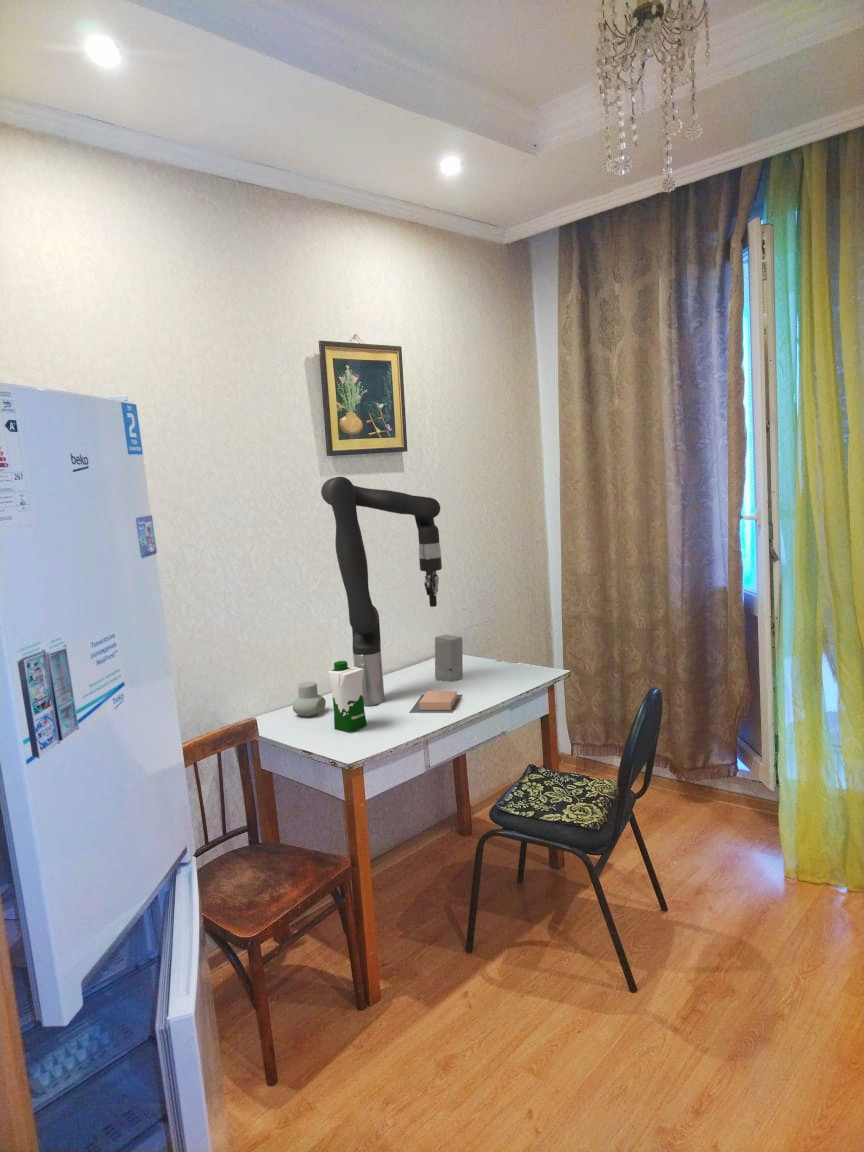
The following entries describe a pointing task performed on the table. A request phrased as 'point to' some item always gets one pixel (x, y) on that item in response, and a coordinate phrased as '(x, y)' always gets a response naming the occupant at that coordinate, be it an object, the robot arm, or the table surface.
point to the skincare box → (448, 658)
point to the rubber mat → (417, 710)
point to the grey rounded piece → (308, 700)
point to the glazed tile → (438, 700)
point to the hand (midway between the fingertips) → (433, 606)
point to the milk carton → (347, 697)
